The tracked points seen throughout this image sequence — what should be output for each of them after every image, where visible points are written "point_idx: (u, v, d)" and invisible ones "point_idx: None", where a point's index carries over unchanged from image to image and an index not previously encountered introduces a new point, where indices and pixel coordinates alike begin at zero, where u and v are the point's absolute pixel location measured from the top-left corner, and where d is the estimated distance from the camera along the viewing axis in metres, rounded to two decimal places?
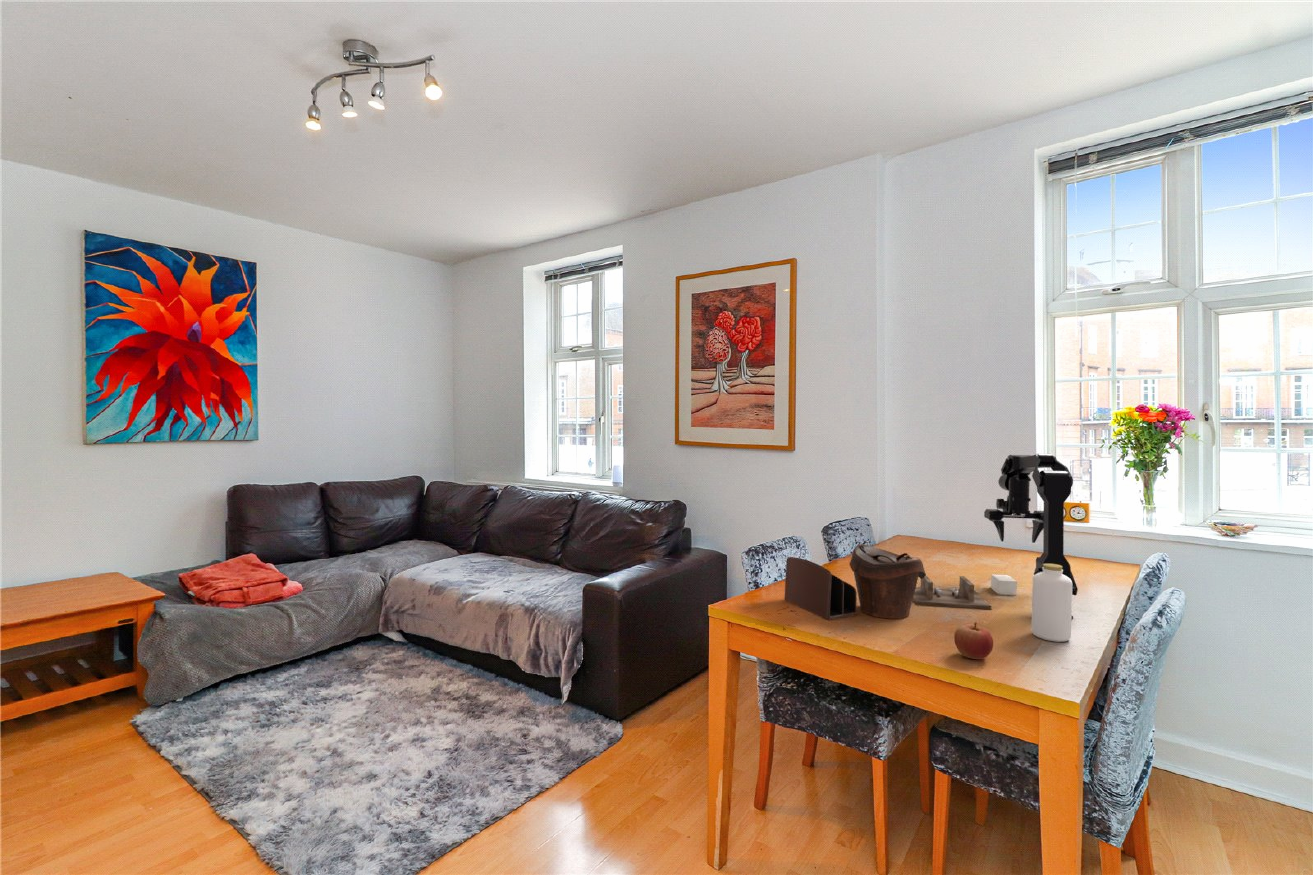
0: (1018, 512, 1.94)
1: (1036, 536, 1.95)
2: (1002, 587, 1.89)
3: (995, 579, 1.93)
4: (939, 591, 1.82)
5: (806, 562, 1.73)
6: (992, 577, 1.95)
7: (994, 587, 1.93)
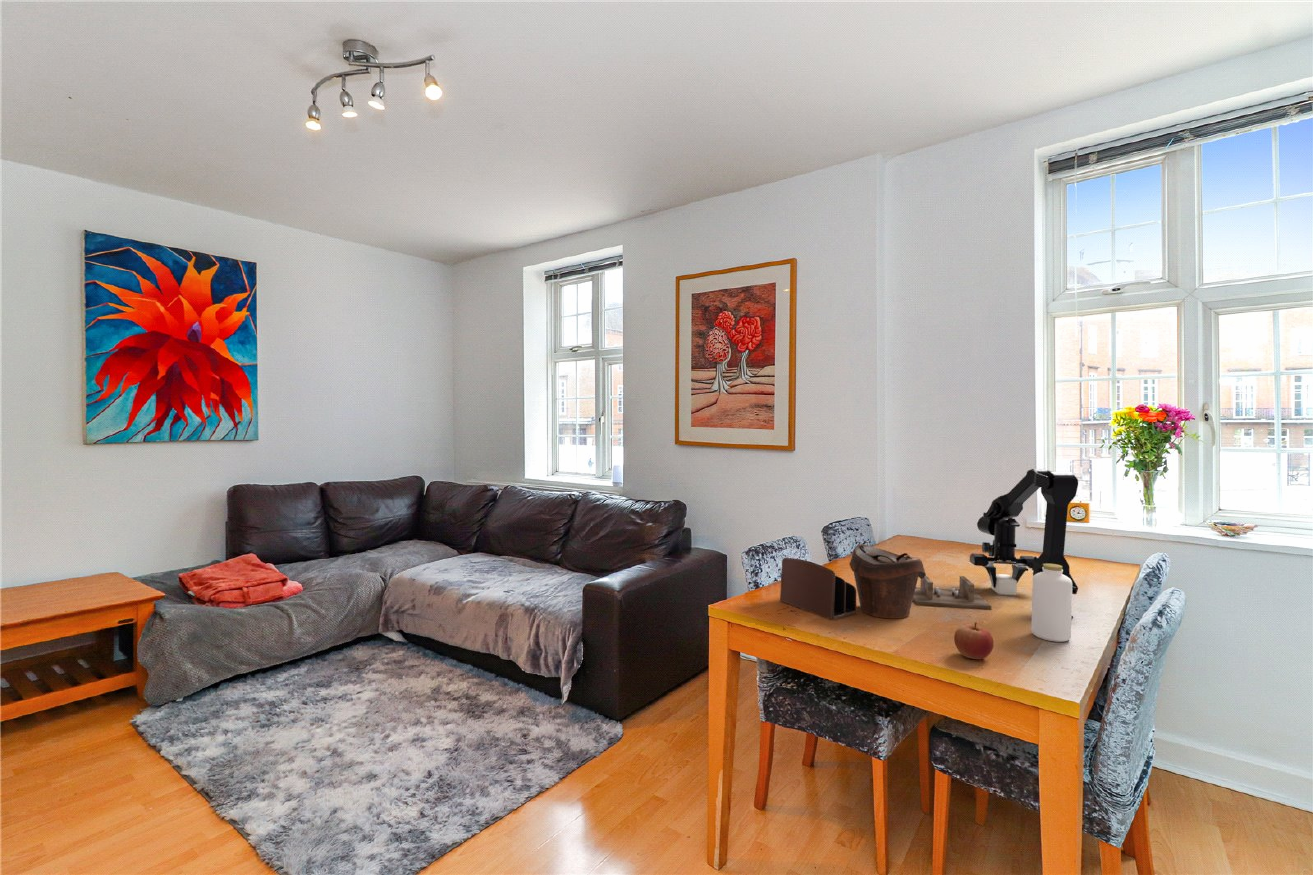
0: (1004, 558, 1.90)
1: None
2: (1002, 586, 1.89)
3: None
4: (939, 591, 1.82)
5: (805, 563, 1.72)
6: None
7: None
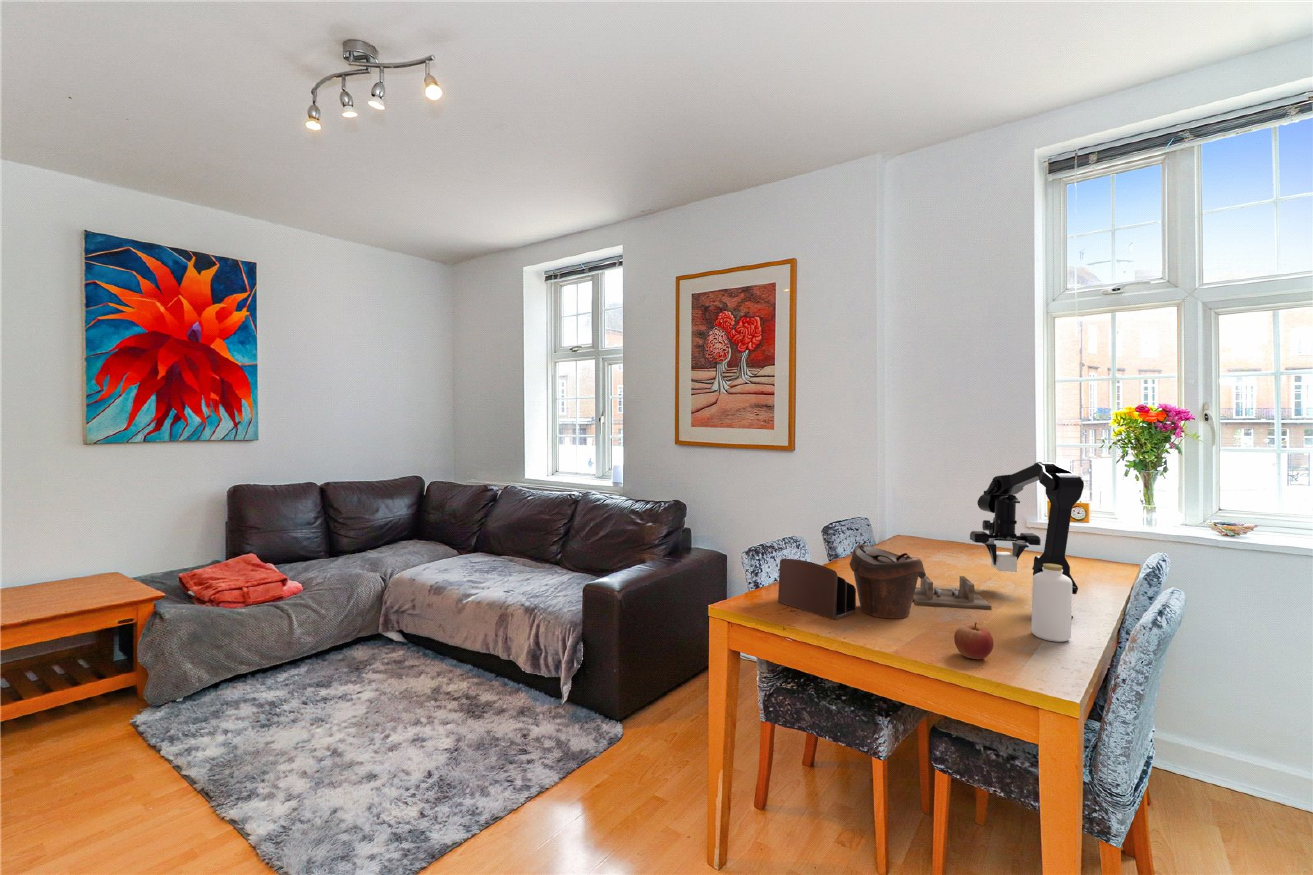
0: (1004, 535, 1.90)
1: None
2: (1002, 563, 1.89)
3: None
4: (939, 591, 1.82)
5: (805, 563, 1.72)
6: None
7: None
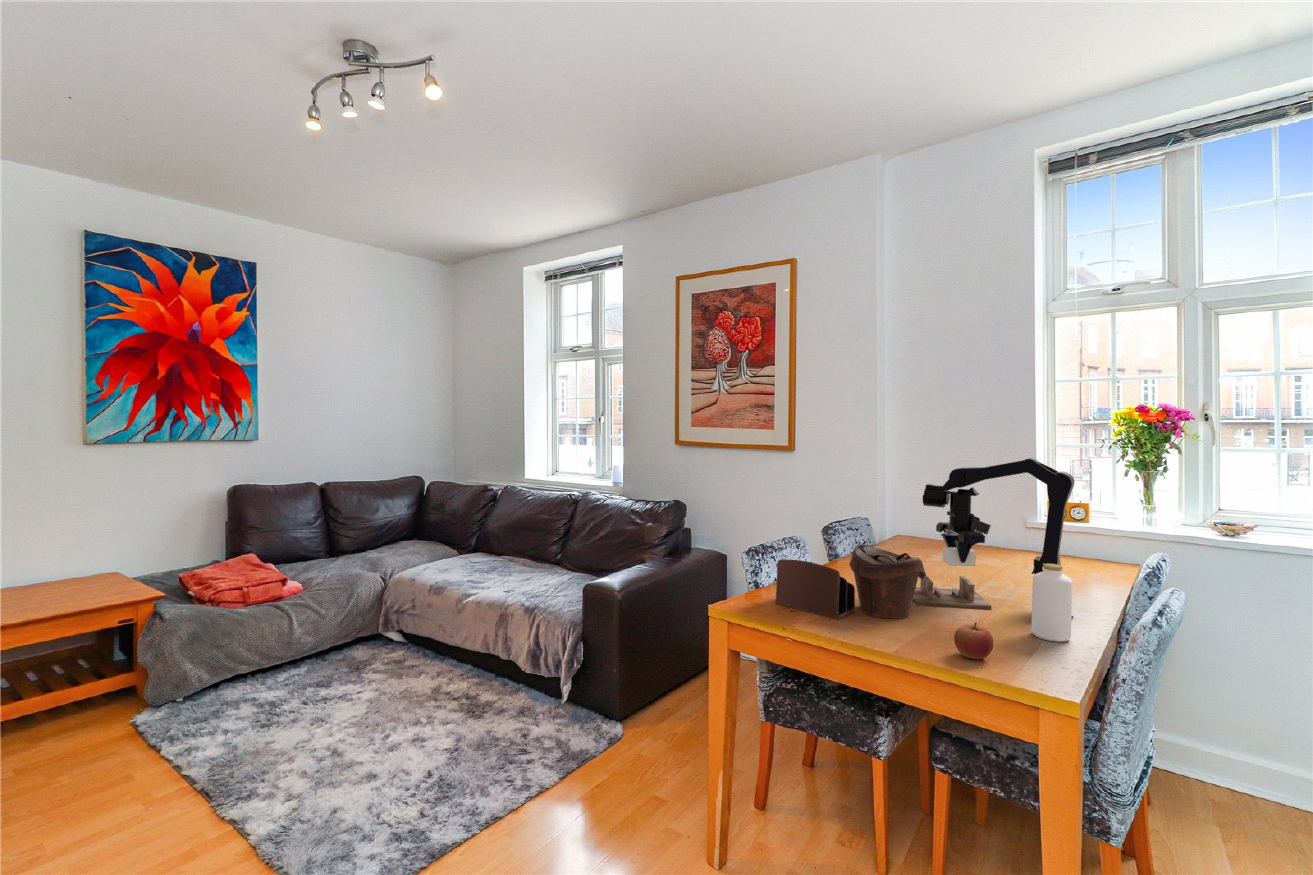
0: (948, 527, 1.86)
1: (959, 555, 1.82)
2: (944, 554, 1.87)
3: None
4: (939, 591, 1.82)
5: (805, 563, 1.71)
6: None
7: None
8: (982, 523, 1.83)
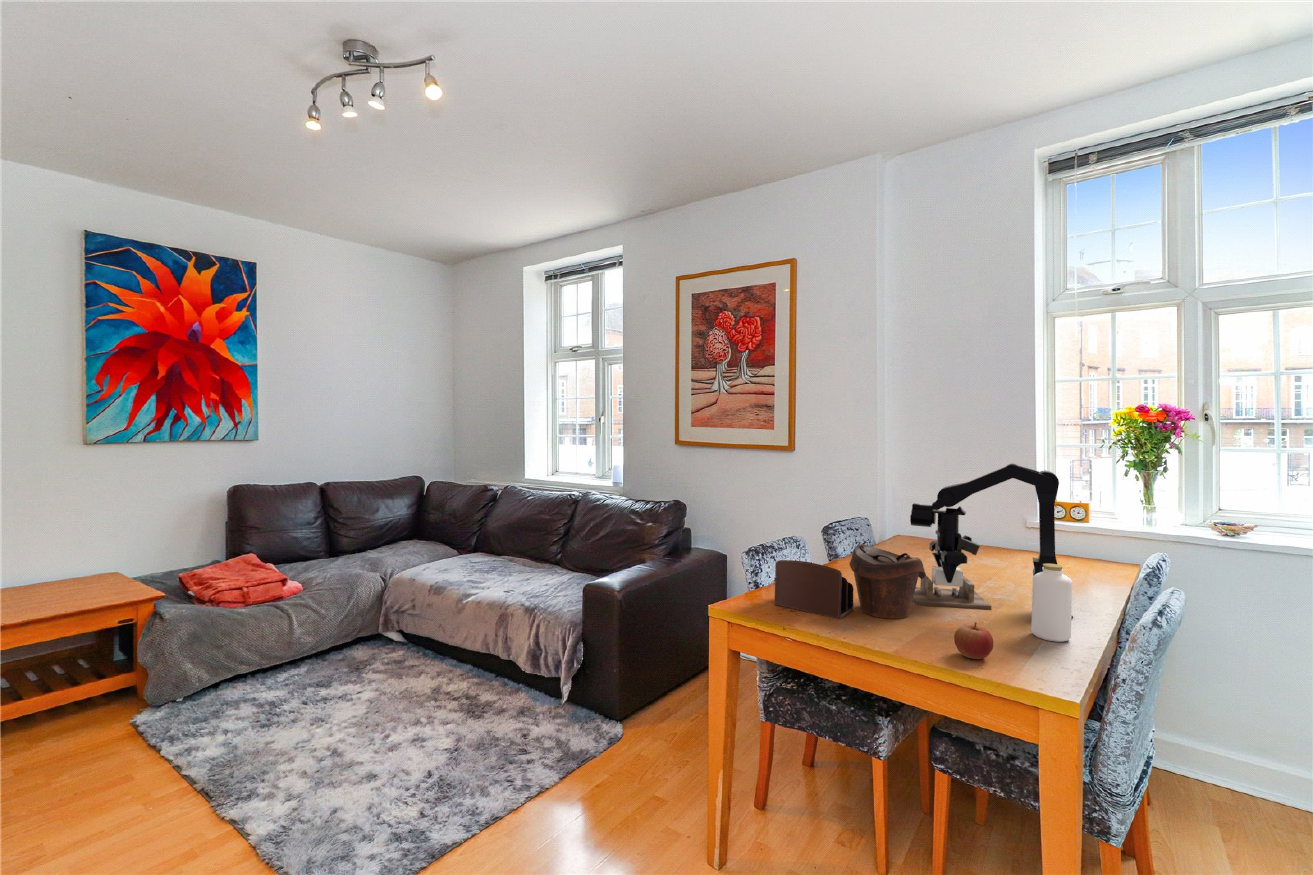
0: (936, 546, 1.85)
1: None
2: (932, 573, 1.86)
3: None
4: (939, 591, 1.82)
5: (806, 564, 1.71)
6: None
7: None
8: (970, 543, 1.80)
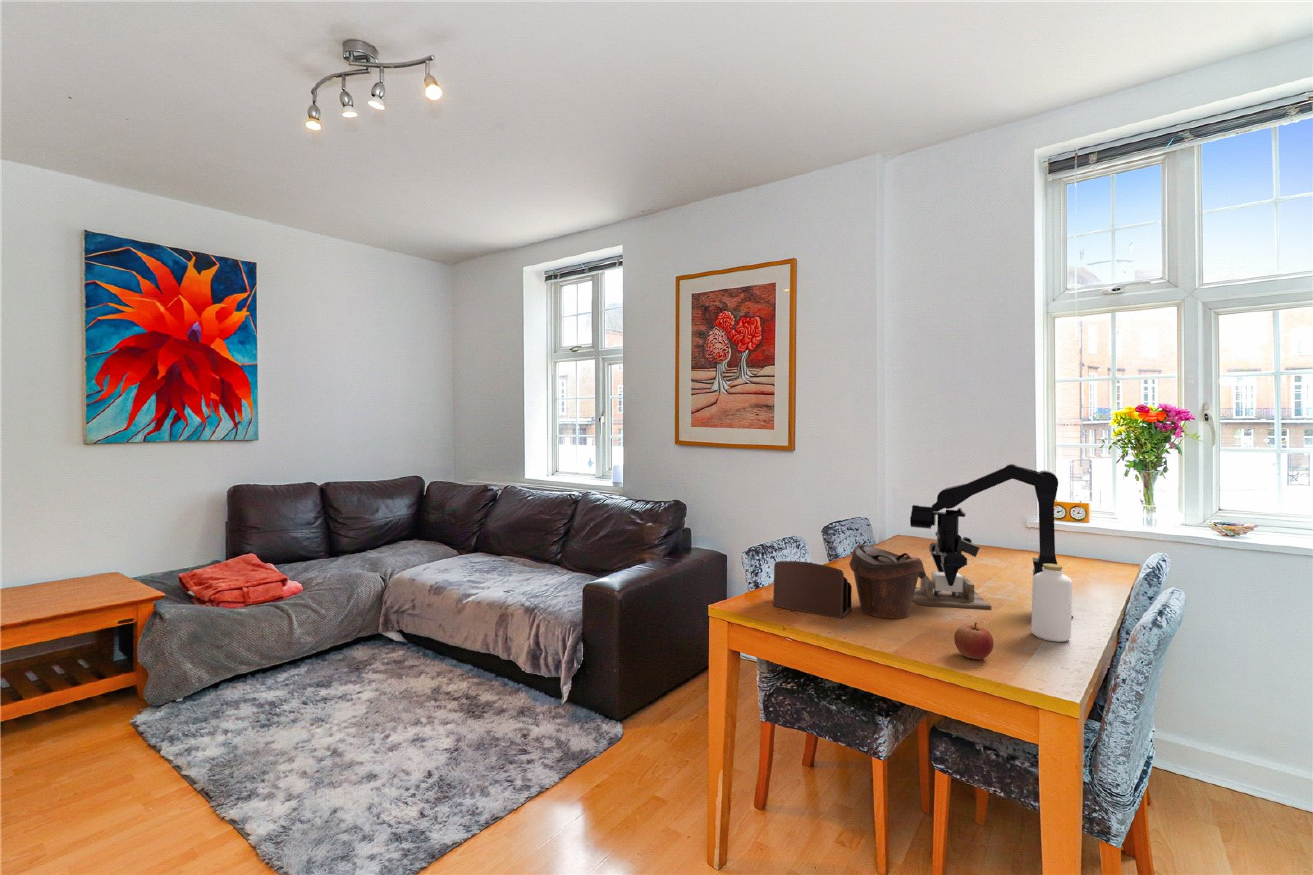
0: (936, 547, 1.85)
1: (946, 578, 1.79)
2: (932, 579, 1.86)
3: None
4: (939, 591, 1.82)
5: (806, 564, 1.70)
6: None
7: None
8: (970, 545, 1.80)
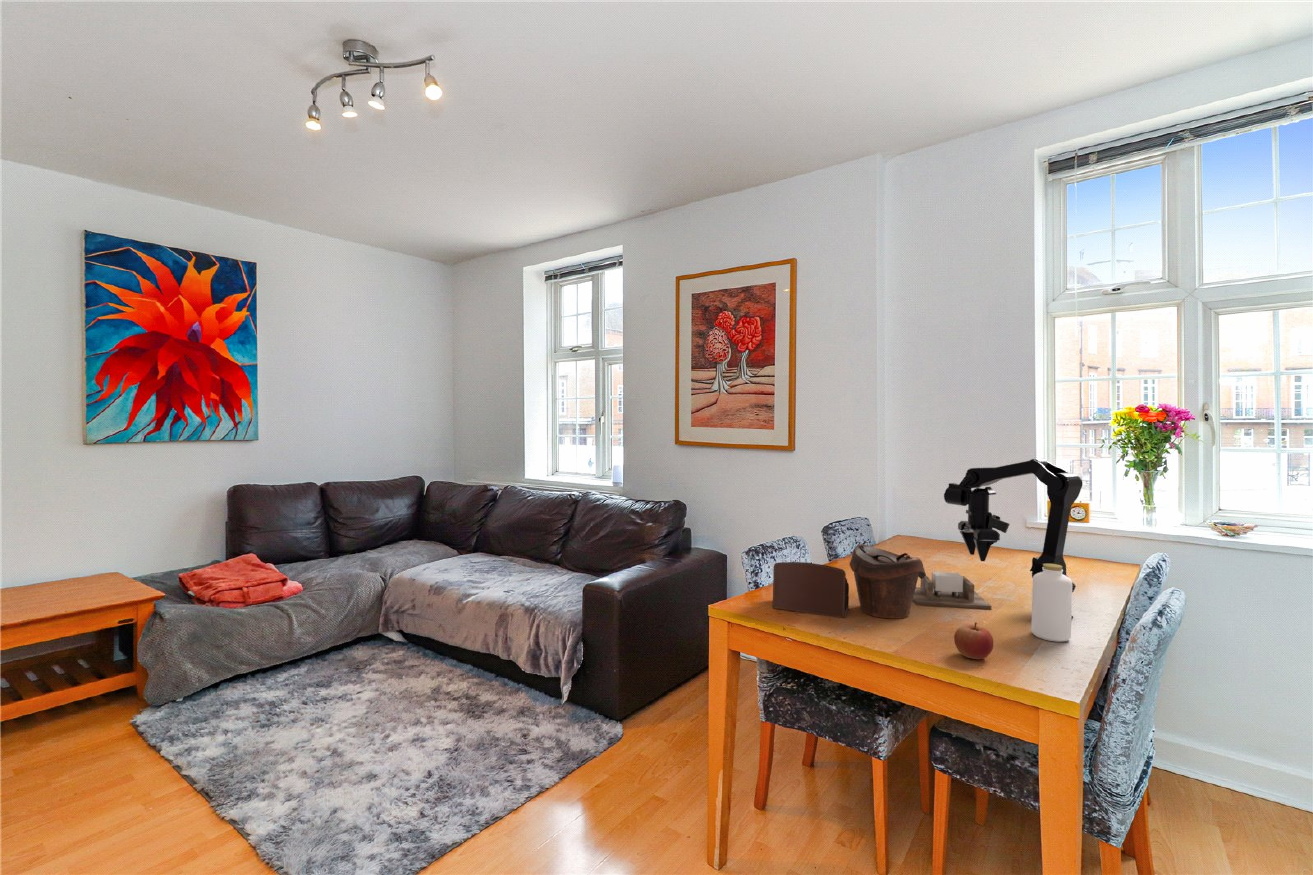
0: (967, 525, 1.92)
1: (978, 553, 1.86)
2: (932, 579, 1.86)
3: None
4: (939, 591, 1.82)
5: (807, 565, 1.70)
6: None
7: None
8: (1000, 522, 1.87)
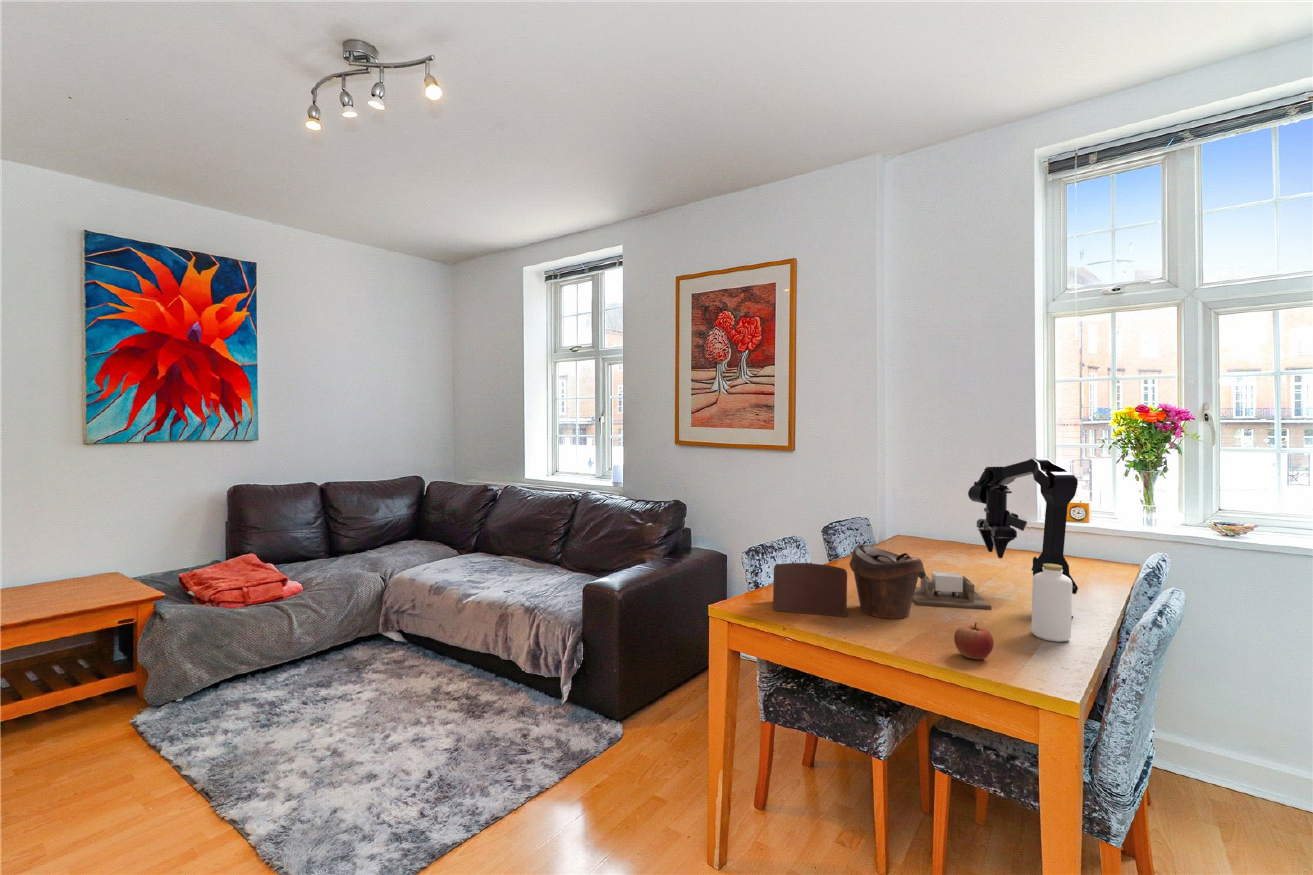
0: (985, 522, 1.96)
1: (996, 550, 1.90)
2: (932, 579, 1.86)
3: None
4: (939, 591, 1.82)
5: (808, 565, 1.69)
6: None
7: None
8: (1018, 519, 1.91)
